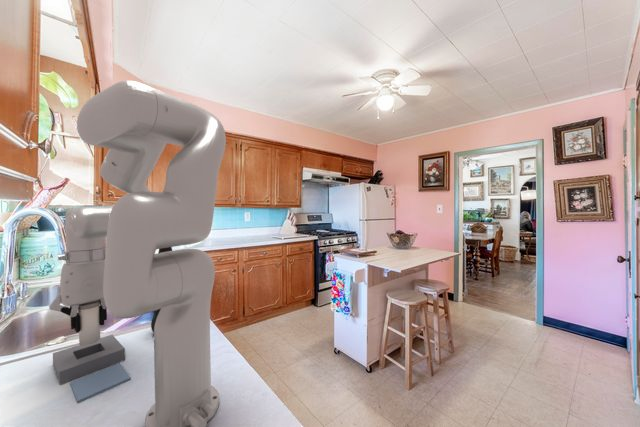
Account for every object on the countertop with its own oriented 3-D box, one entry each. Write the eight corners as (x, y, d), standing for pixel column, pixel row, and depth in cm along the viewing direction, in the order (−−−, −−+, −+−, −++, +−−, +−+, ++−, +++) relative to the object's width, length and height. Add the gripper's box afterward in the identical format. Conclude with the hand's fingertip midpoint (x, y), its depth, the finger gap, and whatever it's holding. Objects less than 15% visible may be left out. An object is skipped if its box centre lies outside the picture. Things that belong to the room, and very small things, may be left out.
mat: (130, 379, 58) (130, 377, 58) (77, 403, 51) (77, 400, 51) (119, 364, 64) (119, 362, 64) (70, 384, 57) (70, 382, 57)
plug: (102, 340, 65) (101, 301, 65) (80, 347, 62) (79, 306, 62) (98, 335, 68) (97, 298, 68) (77, 342, 64) (76, 303, 64)
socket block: (125, 359, 66) (124, 348, 66) (59, 385, 57) (59, 371, 57) (112, 344, 74) (112, 334, 73) (52, 364, 64) (52, 353, 64)
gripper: (40, 263, 56) (42, 346, 56) (131, 252, 69) (133, 319, 69) (37, 260, 60) (39, 336, 60) (123, 250, 73) (125, 313, 74)
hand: (89, 326), depth 65 cm, fingers closed on plug, 4 cm apart
